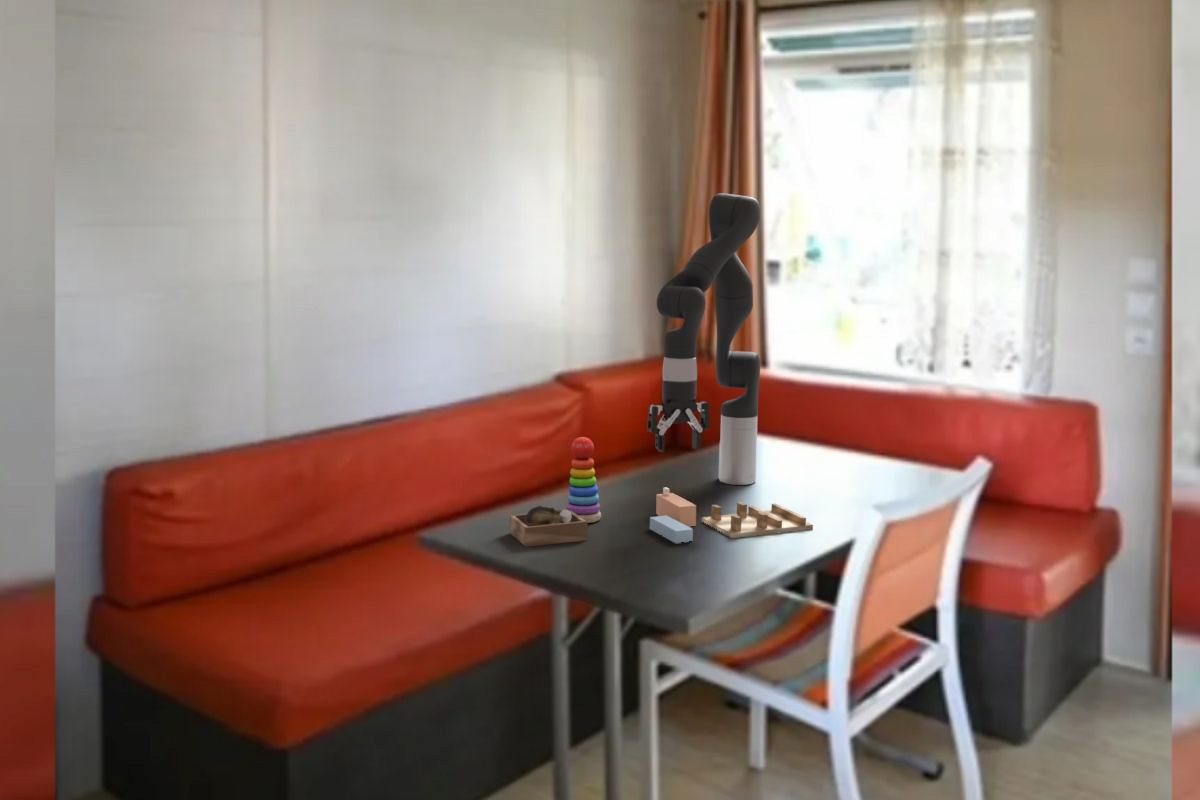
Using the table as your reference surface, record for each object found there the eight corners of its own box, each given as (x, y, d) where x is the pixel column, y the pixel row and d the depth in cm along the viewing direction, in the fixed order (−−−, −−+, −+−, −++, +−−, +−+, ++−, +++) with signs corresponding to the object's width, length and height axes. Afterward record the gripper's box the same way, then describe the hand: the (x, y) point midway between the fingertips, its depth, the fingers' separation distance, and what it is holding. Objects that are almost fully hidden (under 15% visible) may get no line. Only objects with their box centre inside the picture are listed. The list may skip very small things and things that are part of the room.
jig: (701, 521, 266) (702, 504, 266) (779, 513, 274) (780, 496, 273) (731, 538, 254) (732, 520, 253) (812, 529, 261) (813, 511, 261)
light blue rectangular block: (649, 530, 261) (649, 517, 260) (665, 528, 262) (666, 515, 262) (675, 545, 250) (676, 531, 249) (692, 542, 252) (692, 529, 251)
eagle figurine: (538, 522, 259) (517, 524, 251) (556, 496, 258) (535, 498, 250) (563, 545, 256) (542, 547, 248) (581, 519, 255) (560, 521, 247)
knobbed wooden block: (656, 515, 272) (656, 487, 271) (672, 514, 274) (672, 486, 272) (679, 529, 261) (679, 500, 260) (695, 527, 263) (696, 498, 262)
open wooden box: (509, 533, 256) (509, 515, 256) (569, 527, 261) (569, 509, 261) (525, 546, 247) (525, 528, 246) (587, 540, 252) (587, 521, 251)
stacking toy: (606, 516, 270) (606, 435, 267) (594, 525, 263) (594, 442, 259) (573, 513, 273) (573, 433, 269) (560, 522, 265) (560, 439, 262)
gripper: (700, 373, 268) (699, 444, 271) (642, 376, 262) (641, 449, 265) (716, 378, 261) (714, 451, 264) (657, 381, 256) (656, 455, 258)
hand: (678, 449), depth 264 cm, fingers open, 8 cm apart
